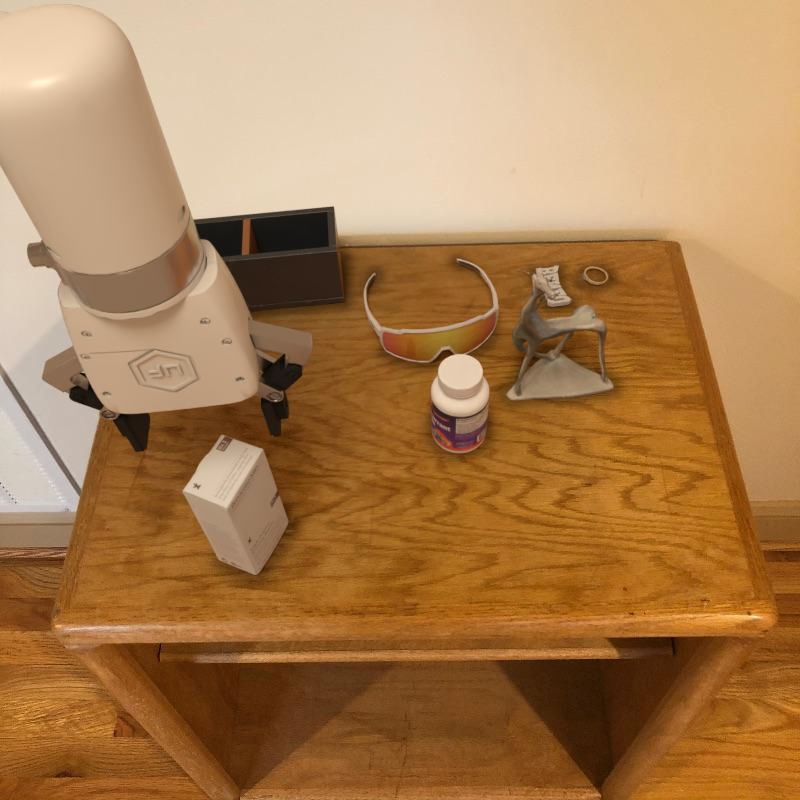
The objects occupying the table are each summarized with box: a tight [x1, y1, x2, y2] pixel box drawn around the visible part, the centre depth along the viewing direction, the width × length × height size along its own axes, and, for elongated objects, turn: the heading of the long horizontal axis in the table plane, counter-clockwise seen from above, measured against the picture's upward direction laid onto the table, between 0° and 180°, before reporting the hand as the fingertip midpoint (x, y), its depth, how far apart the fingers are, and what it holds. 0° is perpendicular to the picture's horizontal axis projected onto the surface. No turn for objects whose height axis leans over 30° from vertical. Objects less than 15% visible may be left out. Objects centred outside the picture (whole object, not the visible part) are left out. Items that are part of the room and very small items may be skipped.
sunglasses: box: [363, 258, 500, 364], centre depth 85 cm, size 14×15×5 cm
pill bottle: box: [430, 354, 490, 454], centre depth 73 cm, size 5×5×10 cm
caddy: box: [193, 205, 345, 312], centre depth 87 cm, size 19×7×8 cm, turn 95°
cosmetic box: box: [182, 434, 289, 576], centre depth 66 cm, size 6×4×12 cm
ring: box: [581, 265, 609, 286], centre depth 88 cm, size 3×1×3 cm
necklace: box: [515, 264, 572, 308], centre depth 87 cm, size 7×1×5 cm
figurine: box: [505, 272, 615, 401], centre depth 75 cm, size 11×6×15 cm, turn 91°
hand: (210, 428), depth 56 cm, fingers open, 9 cm apart
